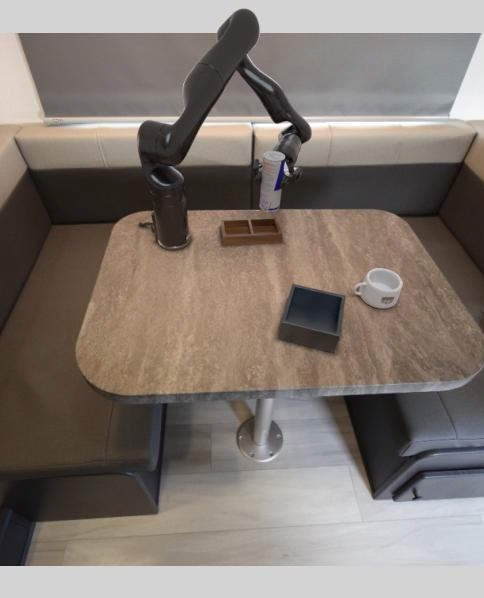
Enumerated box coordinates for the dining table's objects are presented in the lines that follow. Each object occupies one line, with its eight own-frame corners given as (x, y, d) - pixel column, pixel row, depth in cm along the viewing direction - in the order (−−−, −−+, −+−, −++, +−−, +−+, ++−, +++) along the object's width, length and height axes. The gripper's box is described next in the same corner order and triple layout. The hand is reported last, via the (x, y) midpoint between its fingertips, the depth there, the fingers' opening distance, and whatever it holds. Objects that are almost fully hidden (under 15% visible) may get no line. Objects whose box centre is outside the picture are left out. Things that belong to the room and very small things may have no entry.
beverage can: (278, 214, 96) (284, 161, 85) (257, 212, 97) (261, 158, 86) (280, 204, 100) (286, 151, 89) (261, 201, 100) (264, 149, 90)
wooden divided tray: (221, 227, 110) (220, 219, 108) (275, 225, 112) (276, 217, 109) (223, 245, 104) (223, 237, 101) (281, 242, 105) (282, 234, 103)
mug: (388, 282, 94) (396, 265, 89) (402, 309, 87) (411, 292, 83) (344, 284, 93) (350, 267, 89) (356, 311, 86) (362, 294, 82)
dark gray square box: (289, 301, 88) (292, 283, 84) (339, 313, 86) (345, 295, 81) (278, 339, 80) (280, 321, 75) (333, 353, 77) (339, 336, 73)
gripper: (260, 140, 100) (243, 165, 89) (310, 147, 97) (299, 174, 86) (259, 165, 106) (242, 192, 94) (306, 173, 103) (295, 202, 92)
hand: (269, 183), depth 90 cm, fingers closed on beverage can, 5 cm apart
